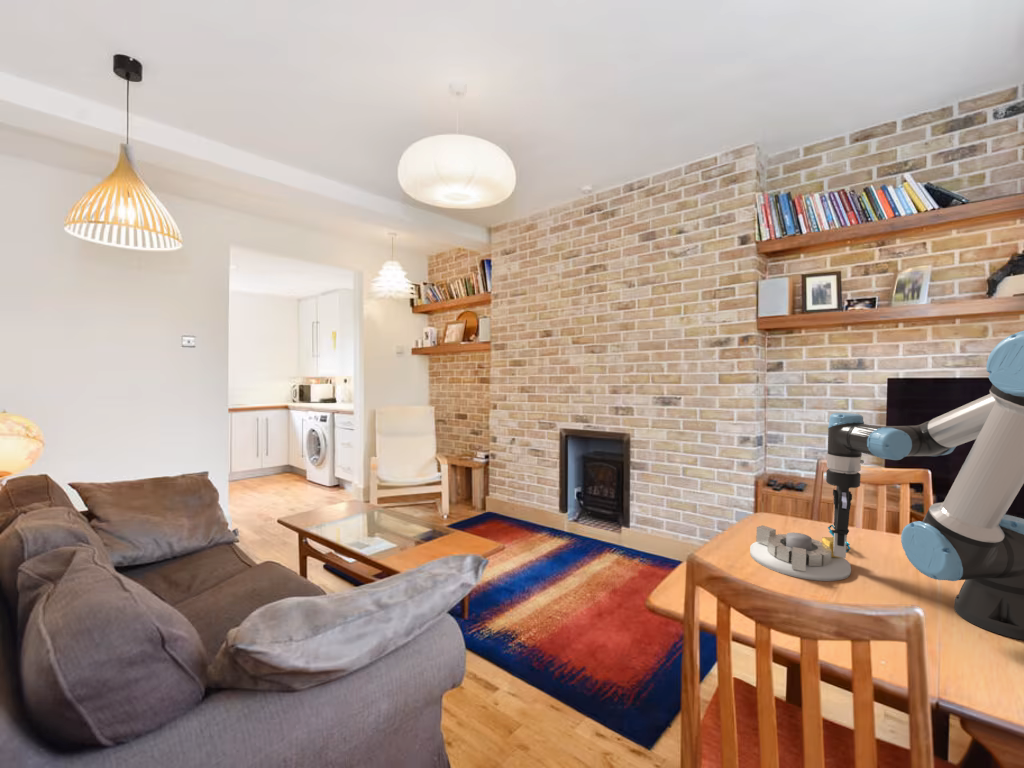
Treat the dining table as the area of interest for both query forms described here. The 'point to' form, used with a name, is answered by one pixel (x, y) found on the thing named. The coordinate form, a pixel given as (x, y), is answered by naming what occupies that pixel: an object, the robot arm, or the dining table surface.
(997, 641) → the dining table surface
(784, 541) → the grey segmented ring
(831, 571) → the white shallow round piece
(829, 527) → the stick construction toy
